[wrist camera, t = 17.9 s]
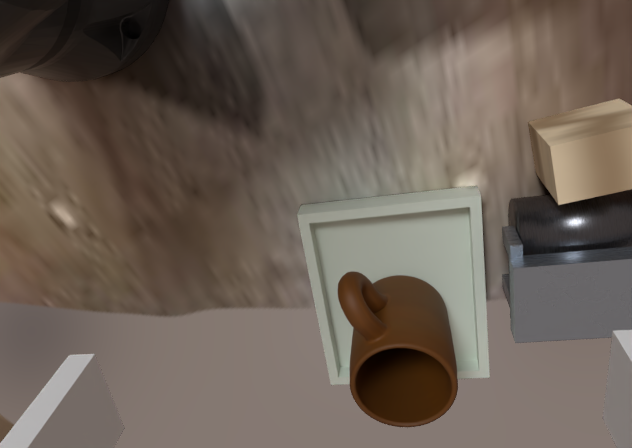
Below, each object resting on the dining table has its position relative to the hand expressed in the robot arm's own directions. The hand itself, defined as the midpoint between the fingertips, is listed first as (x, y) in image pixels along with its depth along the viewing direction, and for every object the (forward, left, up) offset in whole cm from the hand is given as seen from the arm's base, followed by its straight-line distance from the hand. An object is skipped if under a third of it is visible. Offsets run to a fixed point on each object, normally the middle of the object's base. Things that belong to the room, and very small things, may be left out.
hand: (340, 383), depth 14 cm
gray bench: (+14, -11, -28) cm, 33 cm away
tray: (0, -15, -28) cm, 32 cm away
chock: (+14, -3, -29) cm, 32 cm away
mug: (-1, -14, -28) cm, 32 cm away
